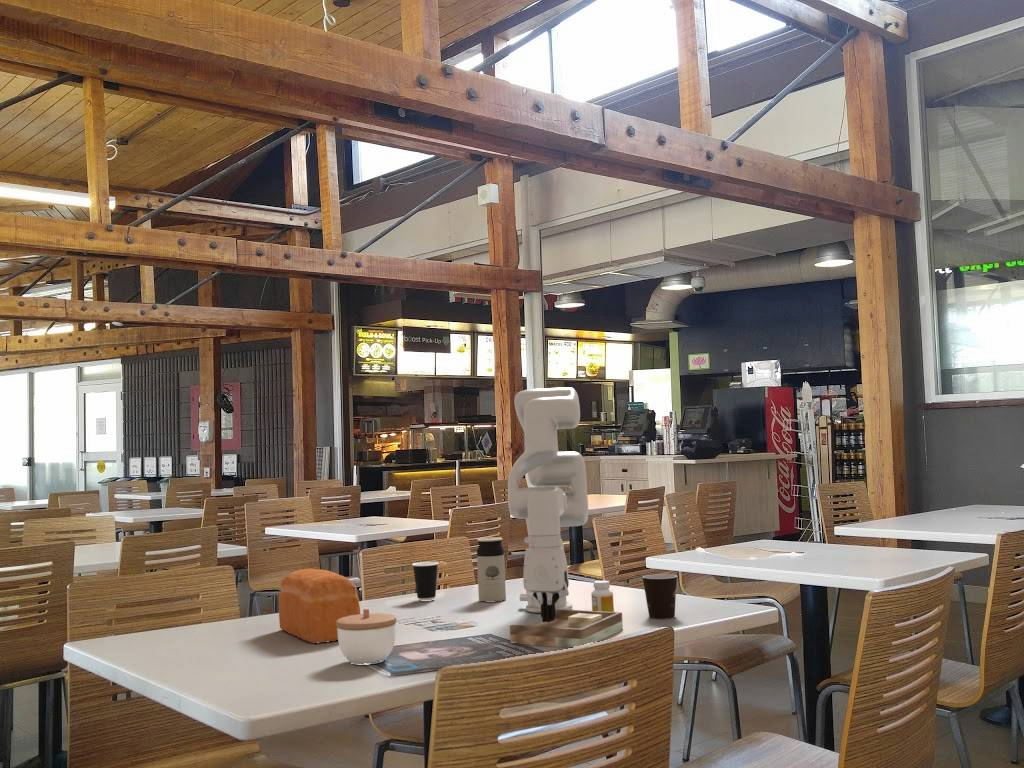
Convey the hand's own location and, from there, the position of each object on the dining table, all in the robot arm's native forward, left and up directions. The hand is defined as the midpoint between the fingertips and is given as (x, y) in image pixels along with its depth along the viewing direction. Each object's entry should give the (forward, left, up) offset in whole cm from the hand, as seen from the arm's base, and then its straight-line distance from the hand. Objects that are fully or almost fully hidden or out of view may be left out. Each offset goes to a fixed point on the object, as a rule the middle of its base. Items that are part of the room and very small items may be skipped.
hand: (548, 620), depth 218 cm
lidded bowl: (-24, -37, -3) cm, 45 cm away
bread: (-57, -16, -4) cm, 59 cm away
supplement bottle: (+5, +20, -3) cm, 20 cm away
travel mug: (-40, +41, -3) cm, 57 cm away
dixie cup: (-60, +36, -3) cm, 70 cm away
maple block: (+10, -1, -1) cm, 10 cm away
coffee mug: (+17, +31, -3) cm, 35 cm away
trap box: (+5, 0, -3) cm, 6 cm away
